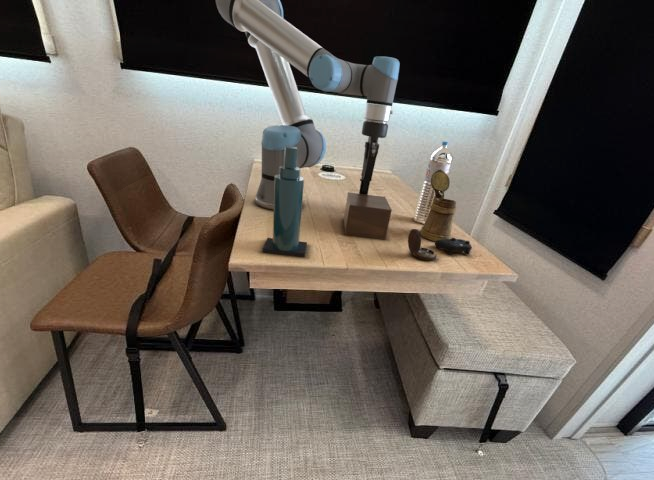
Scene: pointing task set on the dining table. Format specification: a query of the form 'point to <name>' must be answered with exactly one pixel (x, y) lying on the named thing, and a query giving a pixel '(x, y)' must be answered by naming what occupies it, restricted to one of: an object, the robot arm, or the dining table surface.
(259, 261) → the dining table surface
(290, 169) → the bottle
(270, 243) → the mat
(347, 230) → the brown wooden box
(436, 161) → the water bottle
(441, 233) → the wooden mug
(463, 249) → the game controller
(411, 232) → the compass
